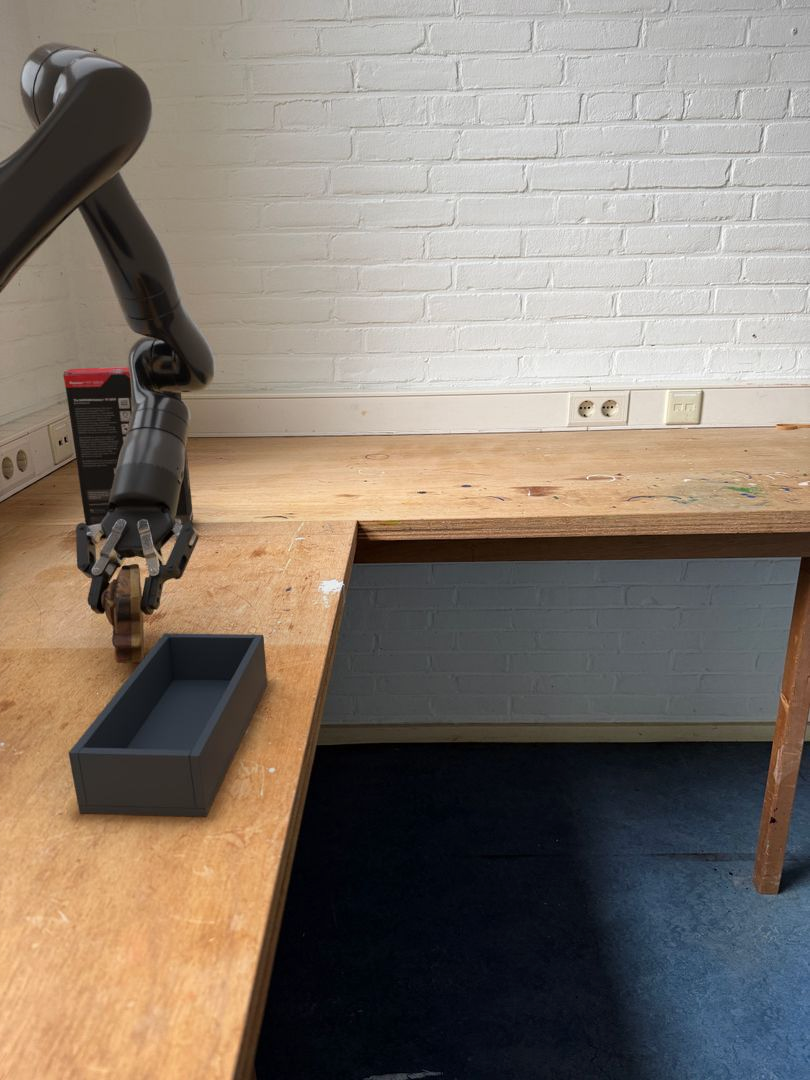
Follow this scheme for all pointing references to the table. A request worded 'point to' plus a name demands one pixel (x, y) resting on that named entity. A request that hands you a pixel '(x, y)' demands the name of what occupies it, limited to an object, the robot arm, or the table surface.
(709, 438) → the table surface
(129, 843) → the table surface
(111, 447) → the graphics card box
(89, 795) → the bin
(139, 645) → the wooden carving
